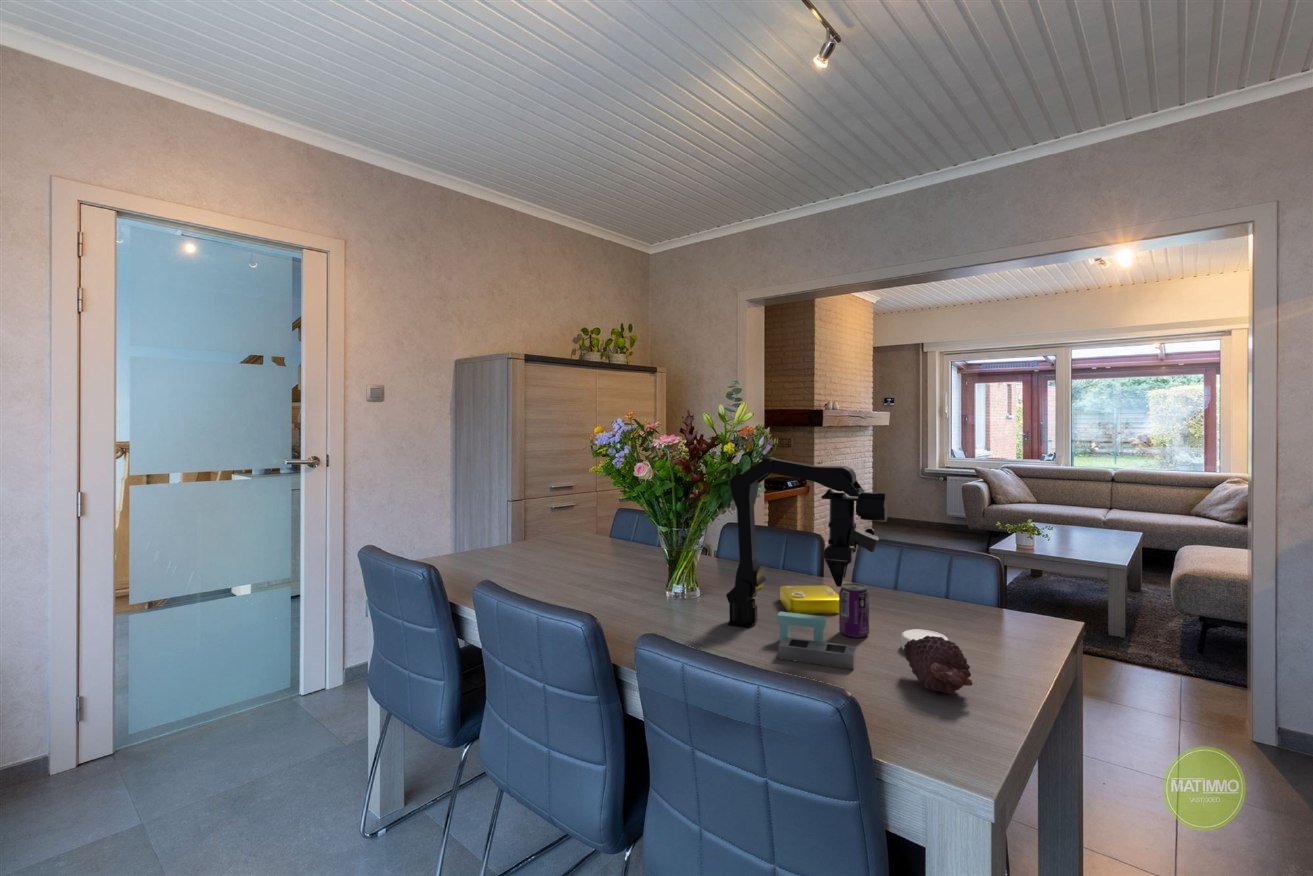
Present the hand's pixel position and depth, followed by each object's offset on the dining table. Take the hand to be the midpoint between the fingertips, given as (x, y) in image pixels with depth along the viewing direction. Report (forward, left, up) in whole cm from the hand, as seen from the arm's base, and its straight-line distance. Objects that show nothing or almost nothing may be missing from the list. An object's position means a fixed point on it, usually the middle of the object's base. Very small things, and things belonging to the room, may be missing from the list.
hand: (840, 581), depth 147 cm
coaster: (+19, -1, -14) cm, 23 cm away
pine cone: (+21, -22, -14) cm, 33 cm away
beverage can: (+3, +4, -14) cm, 15 cm away
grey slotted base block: (-3, -16, -14) cm, 21 cm away
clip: (-8, -7, -14) cm, 18 cm away
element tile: (-11, +24, -15) cm, 30 cm away
